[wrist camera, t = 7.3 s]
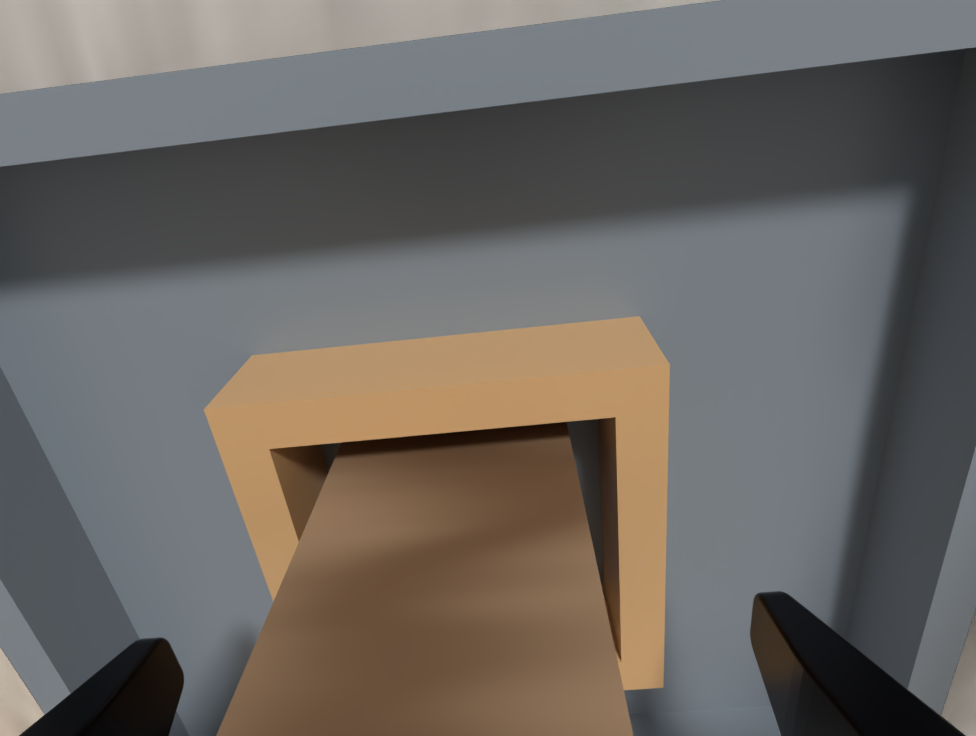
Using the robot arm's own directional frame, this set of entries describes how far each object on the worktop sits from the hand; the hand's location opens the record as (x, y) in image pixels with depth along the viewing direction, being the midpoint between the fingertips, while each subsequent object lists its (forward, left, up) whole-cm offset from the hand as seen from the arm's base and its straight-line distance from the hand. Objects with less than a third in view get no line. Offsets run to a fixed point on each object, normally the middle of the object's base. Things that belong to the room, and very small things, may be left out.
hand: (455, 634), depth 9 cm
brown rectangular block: (0, 0, -3) cm, 3 cm away
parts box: (0, 0, -4) cm, 4 cm away
